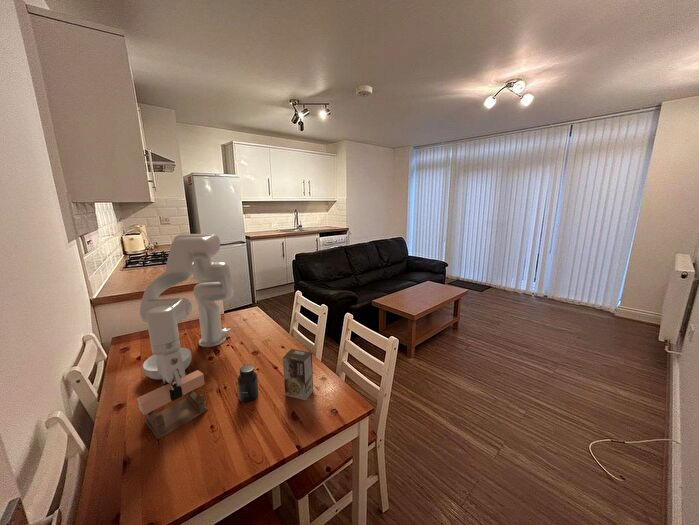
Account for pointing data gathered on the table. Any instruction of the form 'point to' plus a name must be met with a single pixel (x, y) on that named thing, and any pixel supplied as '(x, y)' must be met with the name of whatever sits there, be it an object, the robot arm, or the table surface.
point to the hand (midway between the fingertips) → (173, 394)
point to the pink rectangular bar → (163, 393)
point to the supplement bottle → (247, 384)
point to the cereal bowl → (151, 364)
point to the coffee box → (298, 374)
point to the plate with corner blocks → (176, 414)
